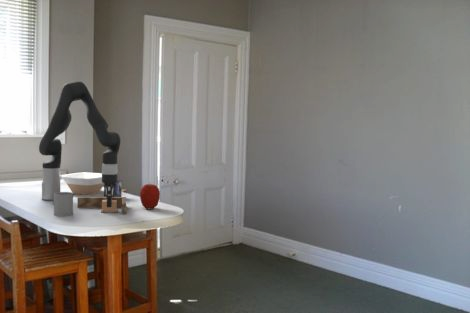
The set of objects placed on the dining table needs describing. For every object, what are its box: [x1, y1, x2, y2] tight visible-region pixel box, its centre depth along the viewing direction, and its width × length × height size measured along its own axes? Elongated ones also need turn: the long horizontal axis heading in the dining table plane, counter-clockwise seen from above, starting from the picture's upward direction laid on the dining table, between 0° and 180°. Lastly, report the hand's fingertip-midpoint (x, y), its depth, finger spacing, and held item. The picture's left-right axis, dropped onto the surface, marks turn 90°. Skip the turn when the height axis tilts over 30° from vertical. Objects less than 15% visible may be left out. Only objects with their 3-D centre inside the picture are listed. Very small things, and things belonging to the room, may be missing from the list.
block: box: [101, 200, 118, 213], centre depth 252 cm, size 4×7×5 cm, turn 103°
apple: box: [139, 183, 161, 210], centre depth 261 cm, size 10×10×14 cm
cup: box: [53, 191, 74, 217], centre depth 241 cm, size 8×8×10 cm
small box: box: [103, 179, 123, 197], centre depth 289 cm, size 11×6×10 cm, turn 168°
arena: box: [76, 196, 127, 215], centre depth 254 cm, size 24×20×5 cm
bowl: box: [60, 171, 104, 196], centre depth 305 cm, size 24×25×11 cm
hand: (109, 205), depth 252 cm, fingers open, 8 cm apart
